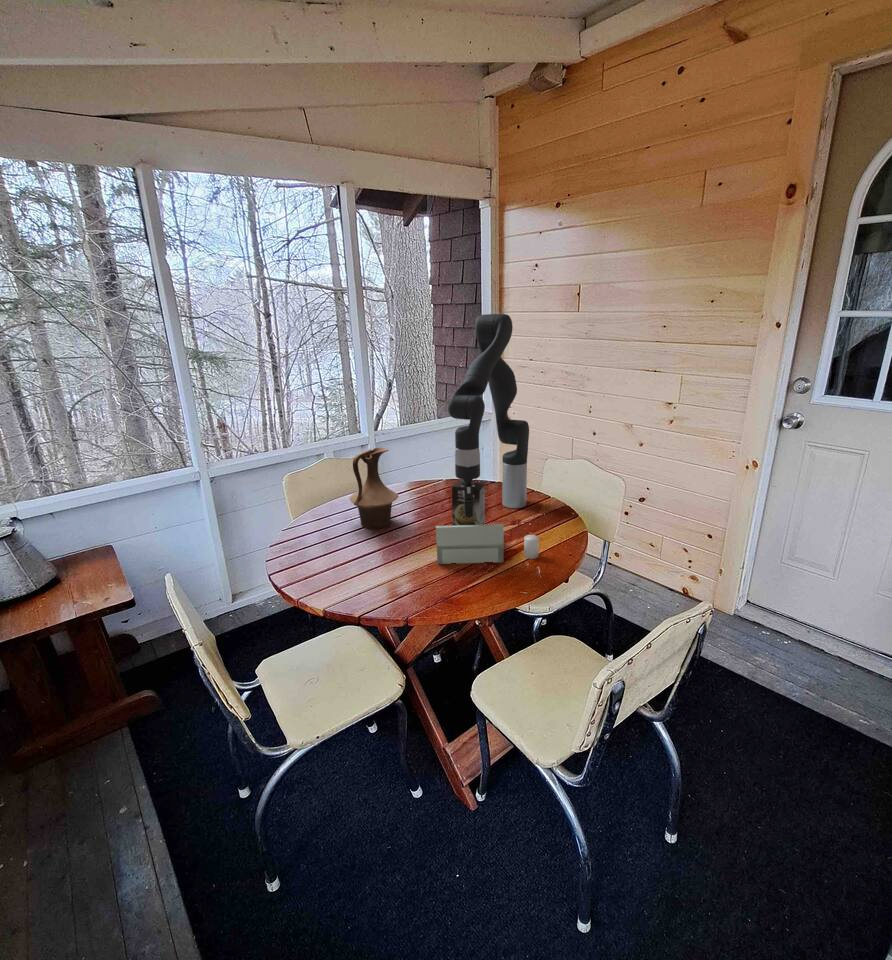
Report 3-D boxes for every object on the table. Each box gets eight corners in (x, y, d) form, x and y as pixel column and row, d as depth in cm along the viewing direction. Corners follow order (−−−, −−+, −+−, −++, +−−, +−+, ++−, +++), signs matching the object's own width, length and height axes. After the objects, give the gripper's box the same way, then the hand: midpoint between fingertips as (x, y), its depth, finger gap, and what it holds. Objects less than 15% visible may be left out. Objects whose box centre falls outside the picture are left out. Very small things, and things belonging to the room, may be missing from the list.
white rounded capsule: (523, 552, 161) (523, 534, 159) (537, 551, 161) (537, 534, 159) (525, 558, 157) (525, 541, 155) (539, 558, 157) (540, 540, 155)
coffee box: (452, 534, 161) (450, 486, 155) (458, 526, 166) (457, 479, 161) (480, 538, 158) (479, 488, 152) (485, 529, 163) (485, 482, 158)
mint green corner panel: (438, 543, 169) (436, 509, 165) (499, 542, 168) (499, 508, 165) (437, 564, 155) (435, 527, 152) (503, 562, 155) (503, 525, 151)
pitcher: (375, 537, 174) (368, 458, 165) (341, 526, 184) (333, 451, 175) (409, 520, 188) (404, 446, 179) (375, 511, 198) (370, 440, 189)
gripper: (454, 455, 161) (456, 503, 166) (455, 469, 148) (456, 521, 153) (478, 454, 161) (479, 502, 166) (481, 468, 148) (482, 520, 153)
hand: (468, 511), depth 160 cm, fingers open, 8 cm apart
